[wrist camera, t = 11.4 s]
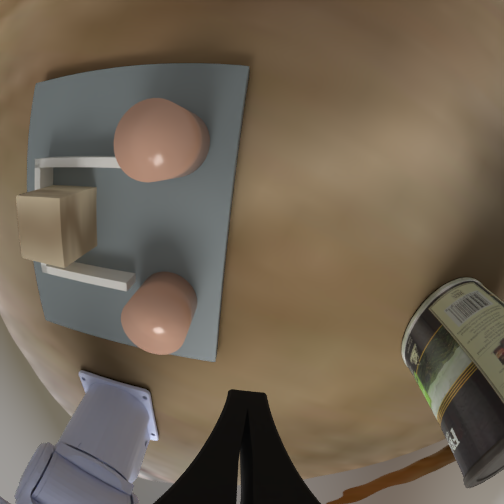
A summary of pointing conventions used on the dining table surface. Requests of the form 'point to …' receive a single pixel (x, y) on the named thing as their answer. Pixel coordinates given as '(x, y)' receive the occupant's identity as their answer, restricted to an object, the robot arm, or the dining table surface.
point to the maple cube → (57, 223)
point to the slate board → (142, 192)
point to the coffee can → (462, 372)
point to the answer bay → (76, 270)
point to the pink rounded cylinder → (160, 313)
